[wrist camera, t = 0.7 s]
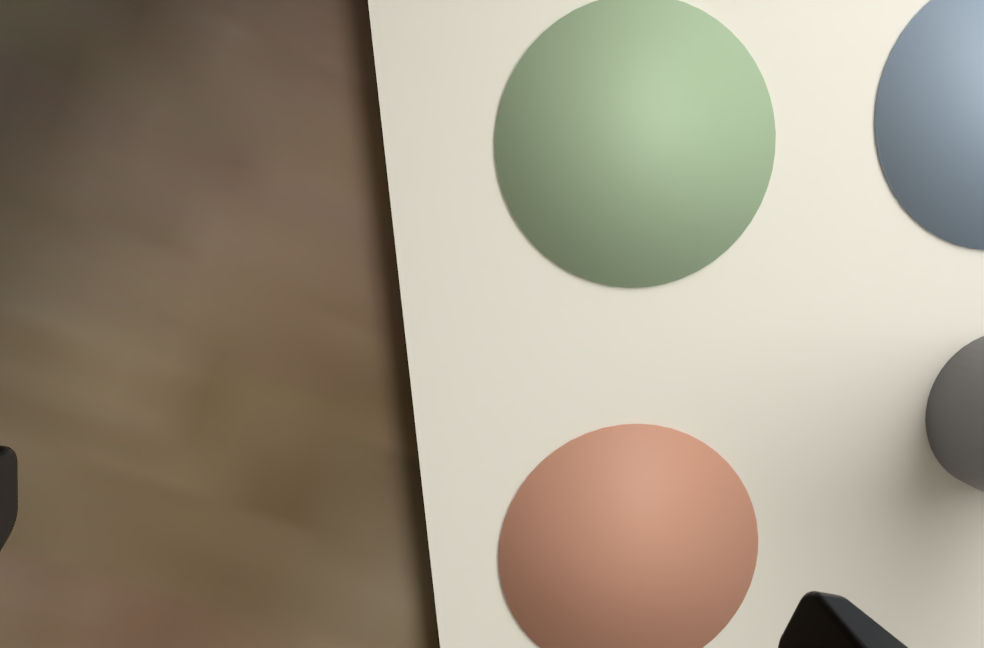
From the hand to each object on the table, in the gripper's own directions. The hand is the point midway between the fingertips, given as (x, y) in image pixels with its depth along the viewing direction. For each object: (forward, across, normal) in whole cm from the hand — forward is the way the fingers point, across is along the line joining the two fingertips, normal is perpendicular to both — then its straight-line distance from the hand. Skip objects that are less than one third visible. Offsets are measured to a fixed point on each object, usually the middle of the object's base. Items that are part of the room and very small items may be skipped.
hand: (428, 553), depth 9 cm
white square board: (+14, -11, +1) cm, 18 cm away
